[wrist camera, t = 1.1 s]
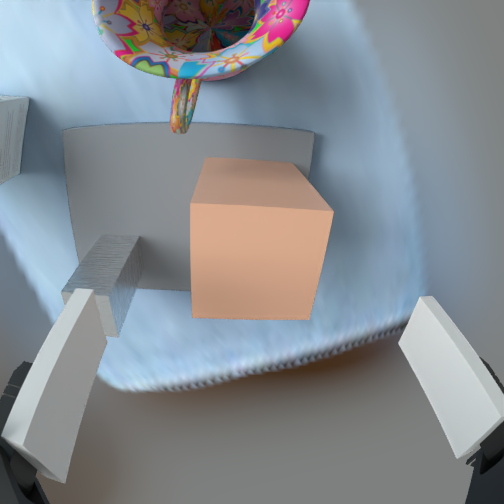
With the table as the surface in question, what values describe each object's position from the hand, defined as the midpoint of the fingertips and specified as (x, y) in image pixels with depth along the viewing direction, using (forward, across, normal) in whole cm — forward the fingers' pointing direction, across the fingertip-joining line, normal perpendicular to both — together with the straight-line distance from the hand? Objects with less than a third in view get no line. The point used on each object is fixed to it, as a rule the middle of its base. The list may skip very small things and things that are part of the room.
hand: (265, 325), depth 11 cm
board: (+15, -5, -1) cm, 15 cm away
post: (+13, -10, -5) cm, 17 cm away
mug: (+15, -4, +12) cm, 19 cm away
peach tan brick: (+13, 0, 0) cm, 13 cm away
